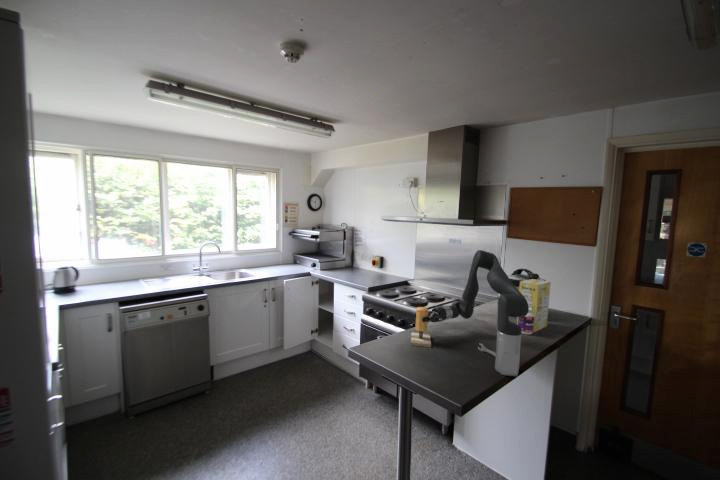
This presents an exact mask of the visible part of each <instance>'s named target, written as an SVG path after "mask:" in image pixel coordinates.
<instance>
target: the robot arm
mask: <svg viewBox="0 0 720 480" xmlns="http://www.w3.org/2000/svg"><path fill="white" fill-rule="evenodd" d="M479 268H481V269H484V270H487V271H488V272H487V274H486V281H487V282H488V285H489V287H490V288H491V289H492V290H493V291H494V292H496V293H498V294H499V296H498V299H497V330H496V331H497V333H496V345H495V346H496V348H495V353H496V356H495V362H494V363H495V364H494V369H495V371H496V372H497V373H500V375H502V376H509V377H518V375H519V372H520V371H519V369H520V359H521V358H520V355H521V344H522V343H521V342H522V328H521V327H520V326H519V325H518V324H517V323H515V322H513V321H510V317H512V318H517V317H523V316H526V315H527V314H528V311H529V306H528V303H527V300H526V299H525V297H524V296H523V295H522V294H521V293H520V292H519V290H518V289H517V288H516V287H515V286H514V285H513V283H512V282H511V281H510V279H509V277H508V276H507V273H506V272H505V271H504V269H503V267H502V266H501V264H500V262H499V260H498V257H497V256H496V255H495V254H494V253H492V252H489V251H485V250H481V249H479V250H478V249H477V250H476V252H475V253H474V256H473V259H472V261H471V265H470V270H469V274H468V277H467V278H468V279H467V282H466V285H465V287H464V290H463V293H462V296H461V298H462V300H463V301H464V302H463V301H457V302H455V303H453V304H452V305H444V306H437V307H433V308H432V309H431V310H428V317H423V318H422V322H426V321H428V322H431V323H440V322H444V321H448V320H453V319H456V318H458V317H459V316H461V317H462V318H463V319H464V320H465V319H466V320H468V319H470V318H472V316H473V314H474V311H475V310H474V309H475V301H476V298H477V296H478V294H479V291H480V288H479V287H480V285H479V280H478V270H479ZM413 318H414V319H416V312H415V313H413Z"/></svg>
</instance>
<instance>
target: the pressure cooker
mask: <svg viewBox="0 0 720 480" xmlns="http://www.w3.org/2000/svg"><path fill="white" fill-rule="evenodd" d="M523 272H525V273H526V274H522V273H523ZM507 276H508V277H509V279H510V281H511V282H512V283H513V285H514V286H515V287H516V288H517V289H518V290H519V286H520V282H521V281H525V280H530V279H536V280H542V281H547V280H546V279H544V278H541V277H540V275H539V274H538V273H534V272H533V271H532V270H530V269H527V268H518V269H515V270H514V271H513V273H511V274H509V275H507Z"/></svg>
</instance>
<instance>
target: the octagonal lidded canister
mask: <svg viewBox="0 0 720 480" xmlns="http://www.w3.org/2000/svg"><path fill="white" fill-rule="evenodd" d="M415 310H416V311H415V313H416V318H415V331H418V332H419V331H423V333H424V332H428V322H429V321H426V322H422V318H423V317H428V311H429V308H427V307H424V306H417V307H416V309H415Z"/></svg>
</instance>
